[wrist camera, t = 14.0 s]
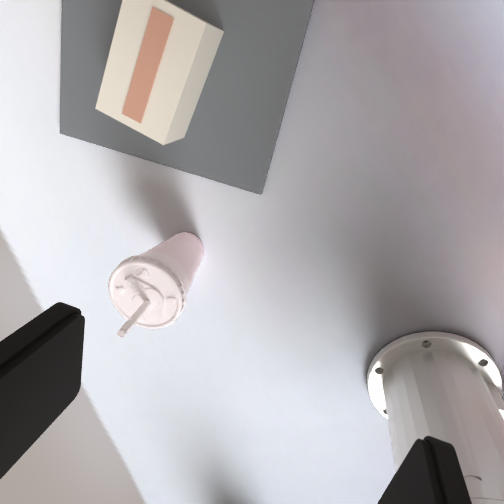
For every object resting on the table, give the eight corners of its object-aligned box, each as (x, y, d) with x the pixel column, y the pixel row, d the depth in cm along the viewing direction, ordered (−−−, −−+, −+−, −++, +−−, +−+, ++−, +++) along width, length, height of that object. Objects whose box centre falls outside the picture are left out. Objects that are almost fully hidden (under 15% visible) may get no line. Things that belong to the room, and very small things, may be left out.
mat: (317, -11, 28) (316, -13, 27) (262, 193, 35) (261, 194, 34) (68, -76, 29) (63, -79, 29) (63, 132, 36) (59, 133, 36)
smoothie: (183, 286, 41) (116, 376, 28) (145, 239, 39) (56, 312, 27) (229, 258, 38) (177, 344, 26) (190, 207, 37) (115, 271, 24)
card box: (184, 137, 34) (162, 145, 29) (124, 105, 33) (94, 108, 29) (224, 31, 29) (205, 23, 25) (155, -6, 29) (126, -20, 25)
